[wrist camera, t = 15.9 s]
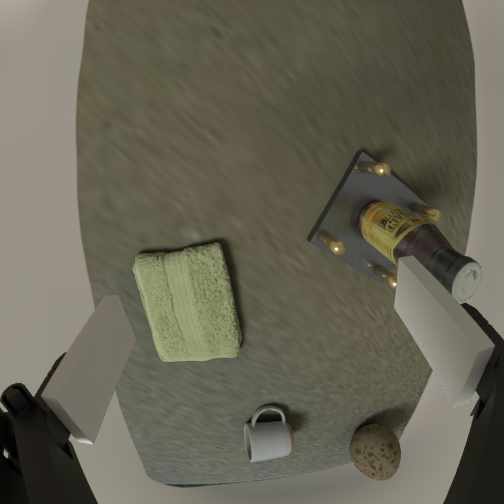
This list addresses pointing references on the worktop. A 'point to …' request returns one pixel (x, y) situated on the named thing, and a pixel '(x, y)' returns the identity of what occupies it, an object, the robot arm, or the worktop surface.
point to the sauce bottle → (419, 247)
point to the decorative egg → (375, 451)
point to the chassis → (349, 211)
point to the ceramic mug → (268, 437)
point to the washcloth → (189, 303)
